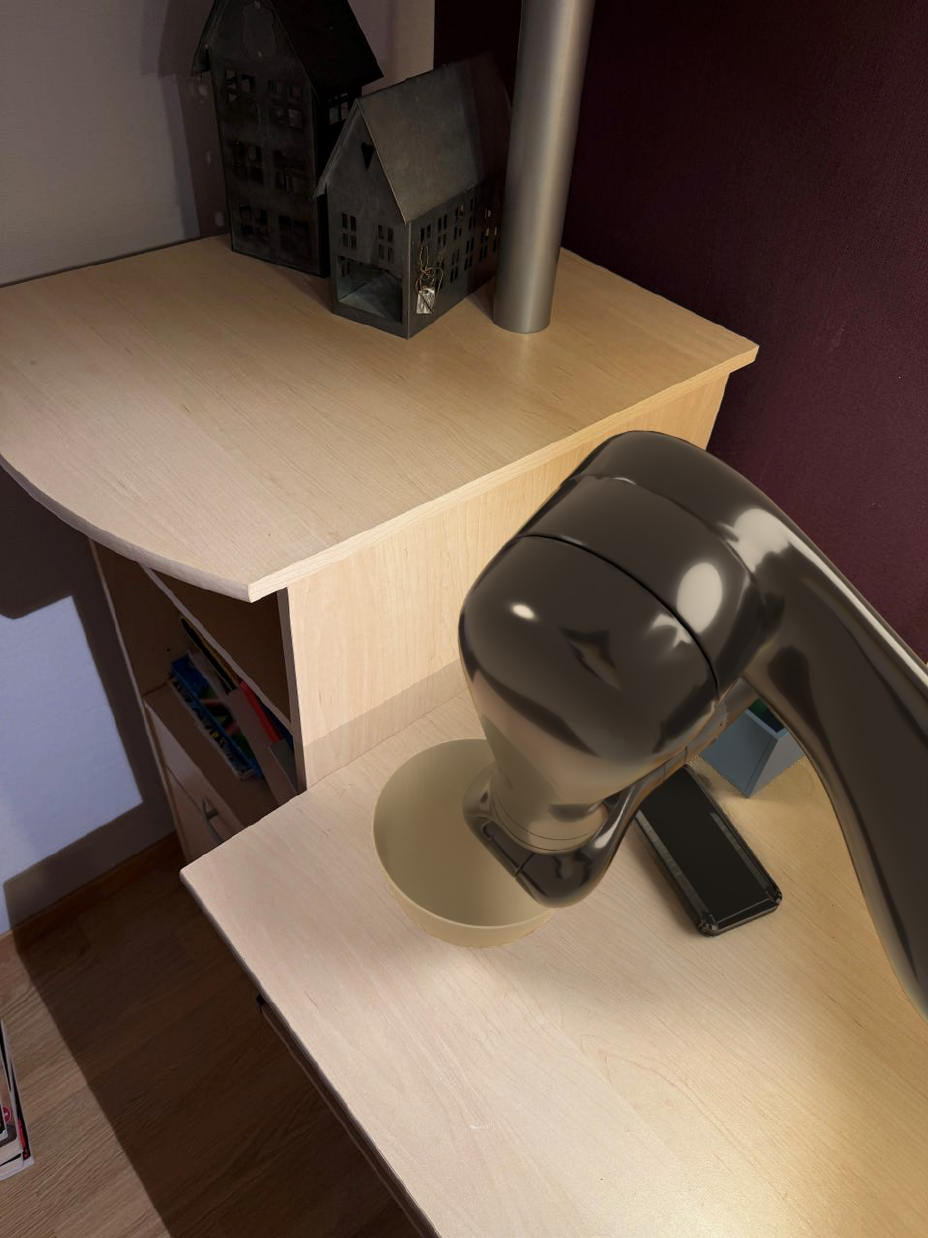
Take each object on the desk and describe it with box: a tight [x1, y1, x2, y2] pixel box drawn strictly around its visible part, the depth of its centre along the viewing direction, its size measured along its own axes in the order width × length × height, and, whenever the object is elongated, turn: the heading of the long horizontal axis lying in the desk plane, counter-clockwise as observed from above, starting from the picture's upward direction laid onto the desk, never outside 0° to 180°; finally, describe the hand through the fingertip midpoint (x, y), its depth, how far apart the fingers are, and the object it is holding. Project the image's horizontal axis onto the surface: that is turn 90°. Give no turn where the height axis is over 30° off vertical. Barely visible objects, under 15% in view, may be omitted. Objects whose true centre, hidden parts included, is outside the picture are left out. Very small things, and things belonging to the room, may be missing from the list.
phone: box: [630, 763, 784, 938], centre depth 77 cm, size 8×1×15 cm
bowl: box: [370, 736, 560, 949], centre depth 69 cm, size 16×16×10 cm
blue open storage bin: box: [698, 707, 806, 799], centre depth 84 cm, size 13×10×8 cm
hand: (790, 604), depth 78 cm, fingers open, 8 cm apart
